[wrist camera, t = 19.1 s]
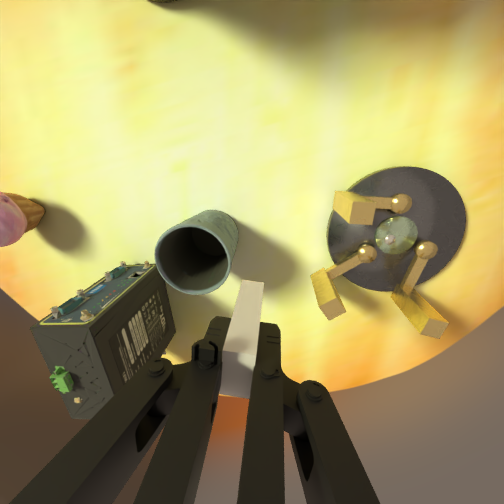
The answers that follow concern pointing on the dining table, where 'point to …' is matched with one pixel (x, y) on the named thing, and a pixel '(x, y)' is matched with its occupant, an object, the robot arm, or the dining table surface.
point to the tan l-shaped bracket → (367, 206)
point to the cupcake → (17, 217)
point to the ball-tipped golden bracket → (412, 301)
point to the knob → (323, 278)
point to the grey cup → (197, 252)
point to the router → (105, 336)
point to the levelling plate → (400, 227)
